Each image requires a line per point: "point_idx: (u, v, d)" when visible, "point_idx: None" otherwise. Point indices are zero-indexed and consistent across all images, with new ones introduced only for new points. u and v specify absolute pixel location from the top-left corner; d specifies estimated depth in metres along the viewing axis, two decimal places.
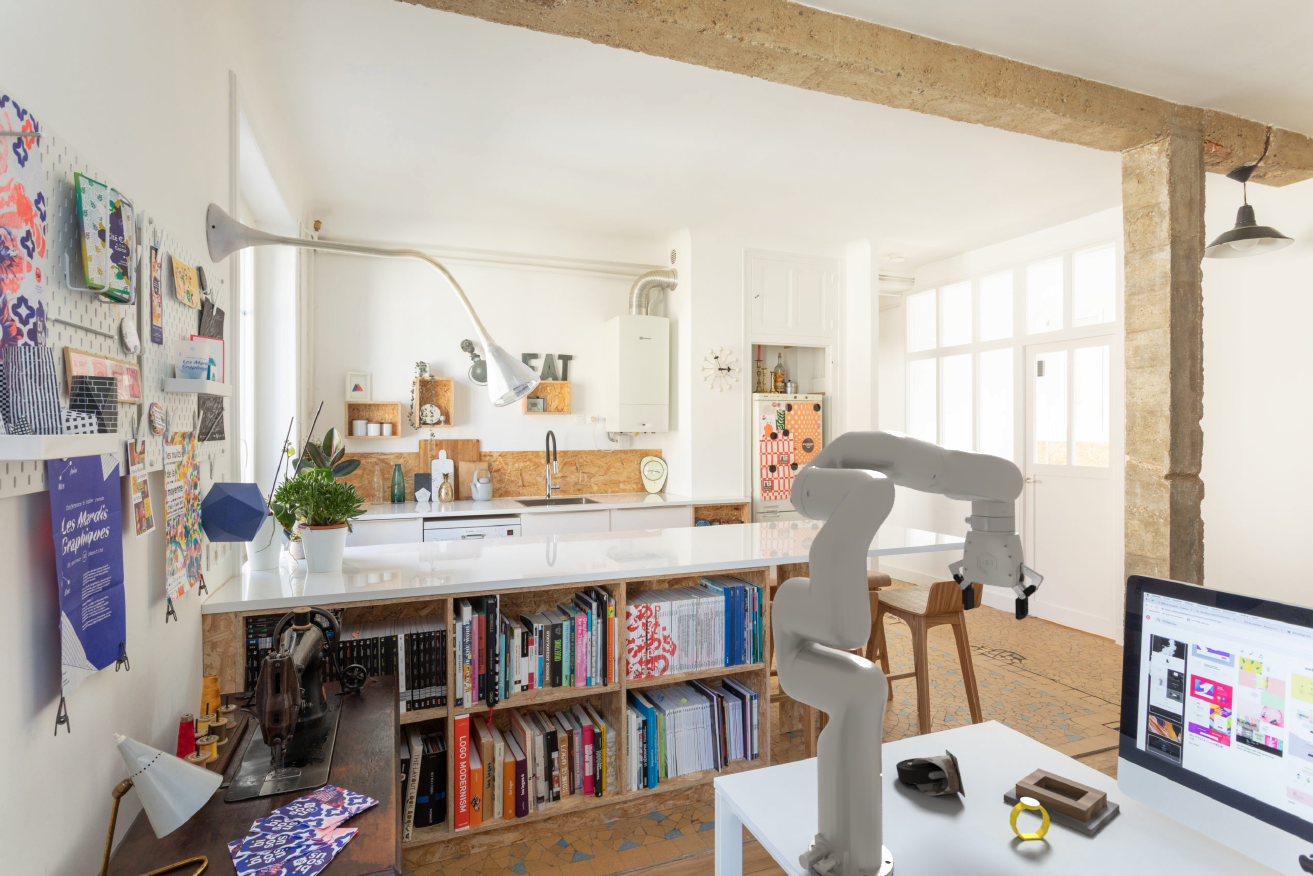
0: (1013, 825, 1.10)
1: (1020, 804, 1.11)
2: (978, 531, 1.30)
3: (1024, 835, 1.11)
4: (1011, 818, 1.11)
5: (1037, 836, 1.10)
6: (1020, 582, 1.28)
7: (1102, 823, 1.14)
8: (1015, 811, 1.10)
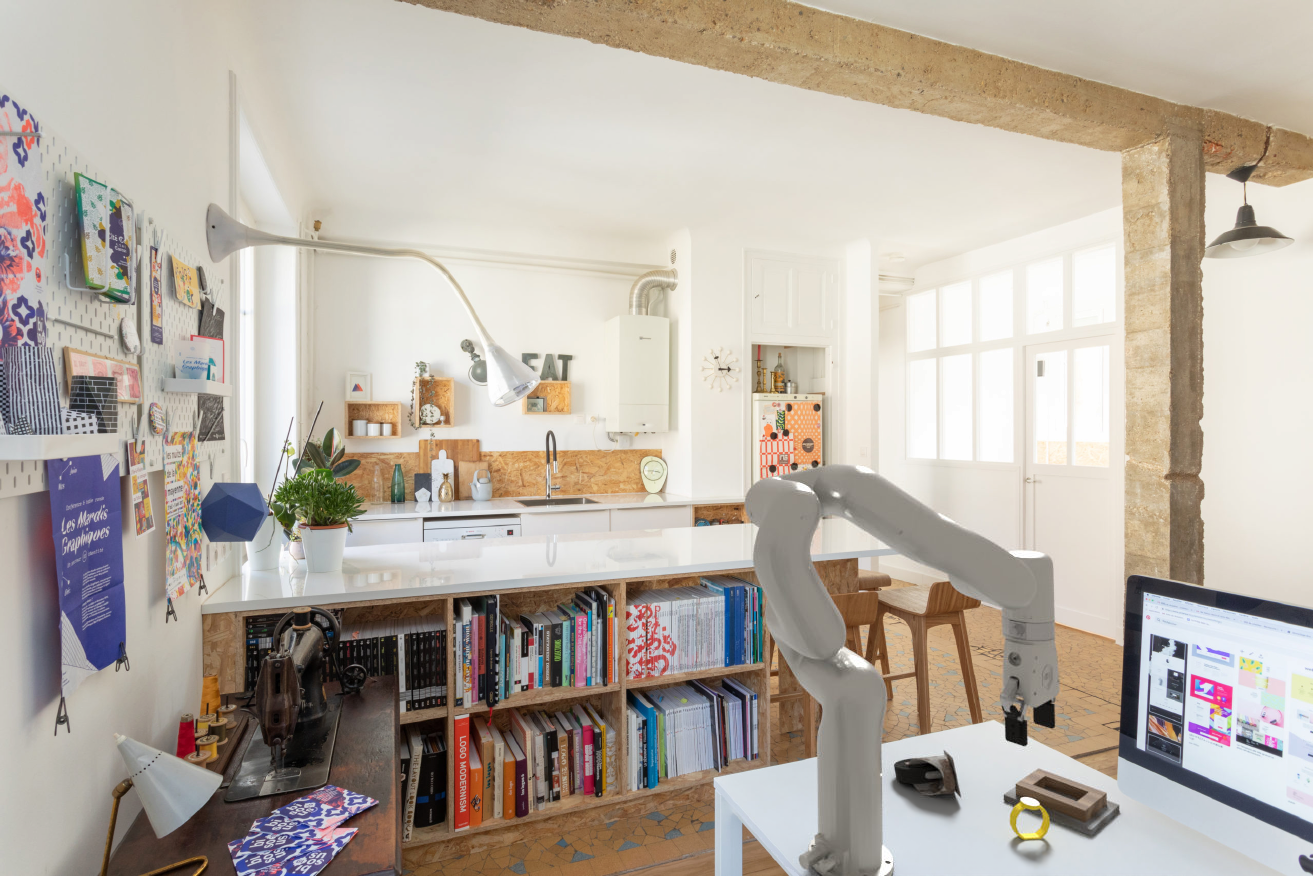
0: (1013, 825, 1.10)
1: (1020, 804, 1.11)
2: (1047, 641, 1.07)
3: (1024, 835, 1.11)
4: (1011, 818, 1.11)
5: (1037, 836, 1.10)
6: None
7: (1102, 823, 1.14)
8: (1015, 811, 1.10)
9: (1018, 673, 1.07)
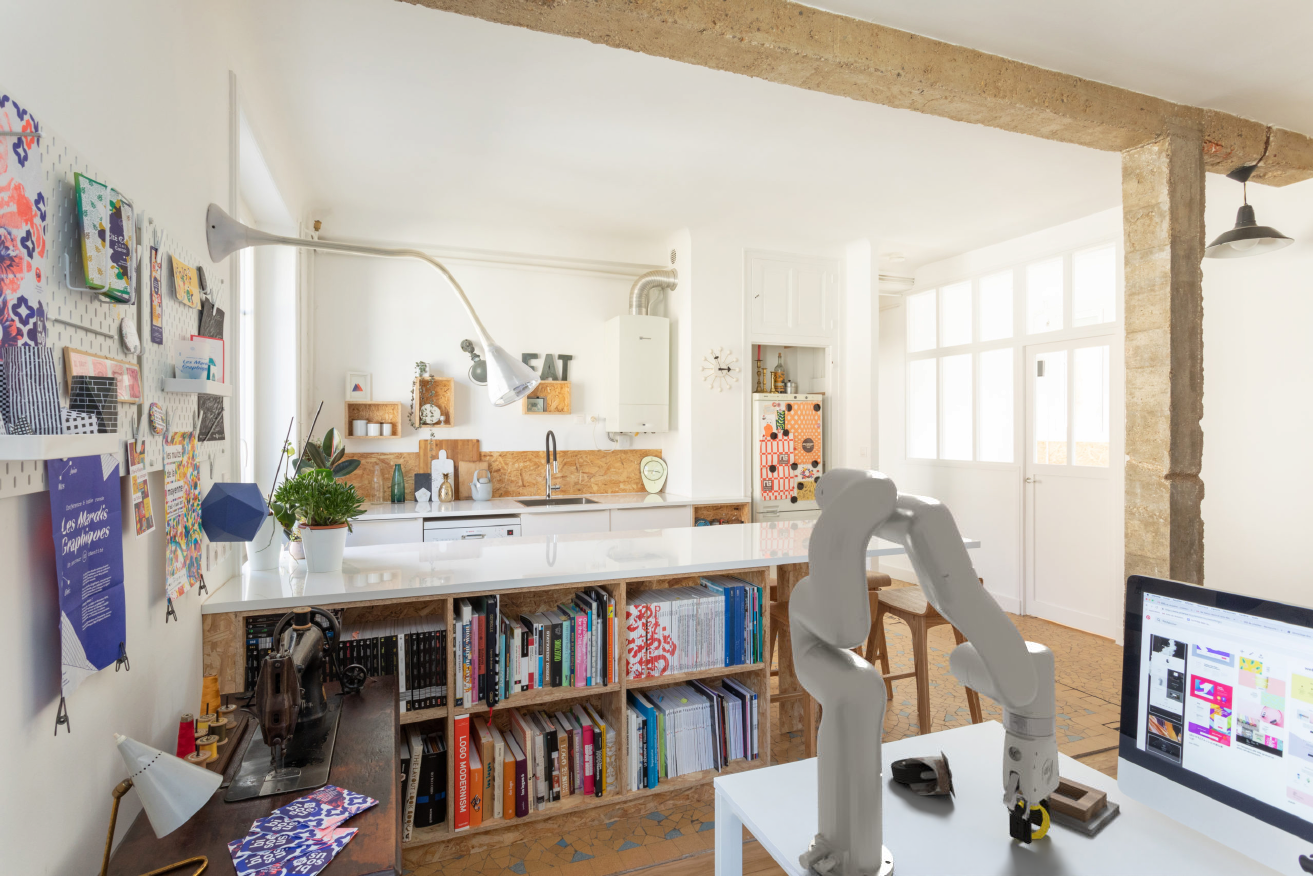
0: None
1: (1020, 804, 1.11)
2: (1048, 737, 1.07)
3: None
4: None
5: (1037, 836, 1.10)
6: None
7: (1102, 823, 1.14)
8: None
9: (1018, 768, 1.07)
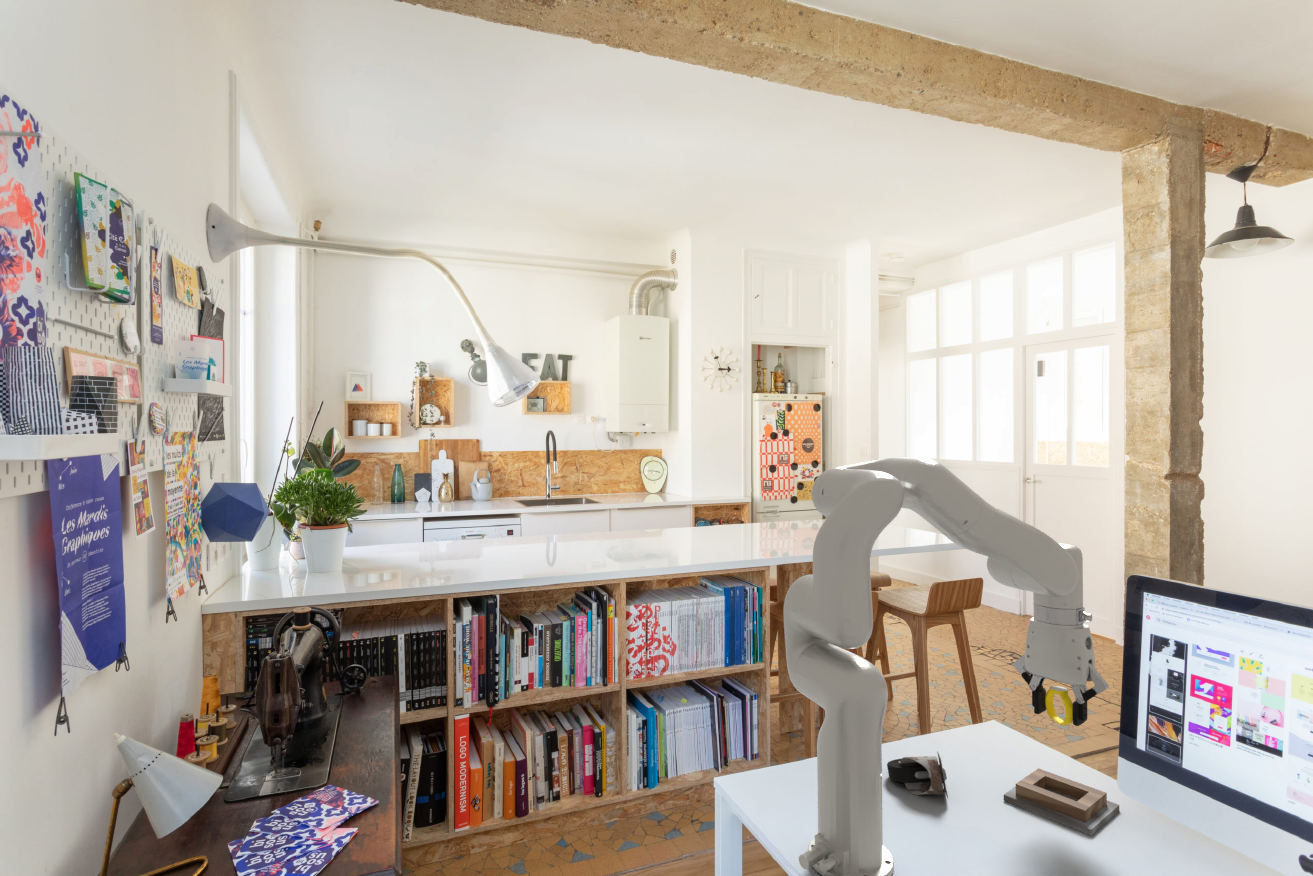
0: (1072, 716, 1.17)
1: (1062, 694, 1.19)
2: None
3: (1062, 722, 1.19)
4: (1069, 710, 1.17)
5: (1057, 717, 1.21)
6: None
7: (1102, 823, 1.14)
8: (1068, 702, 1.17)
9: (1091, 654, 1.16)
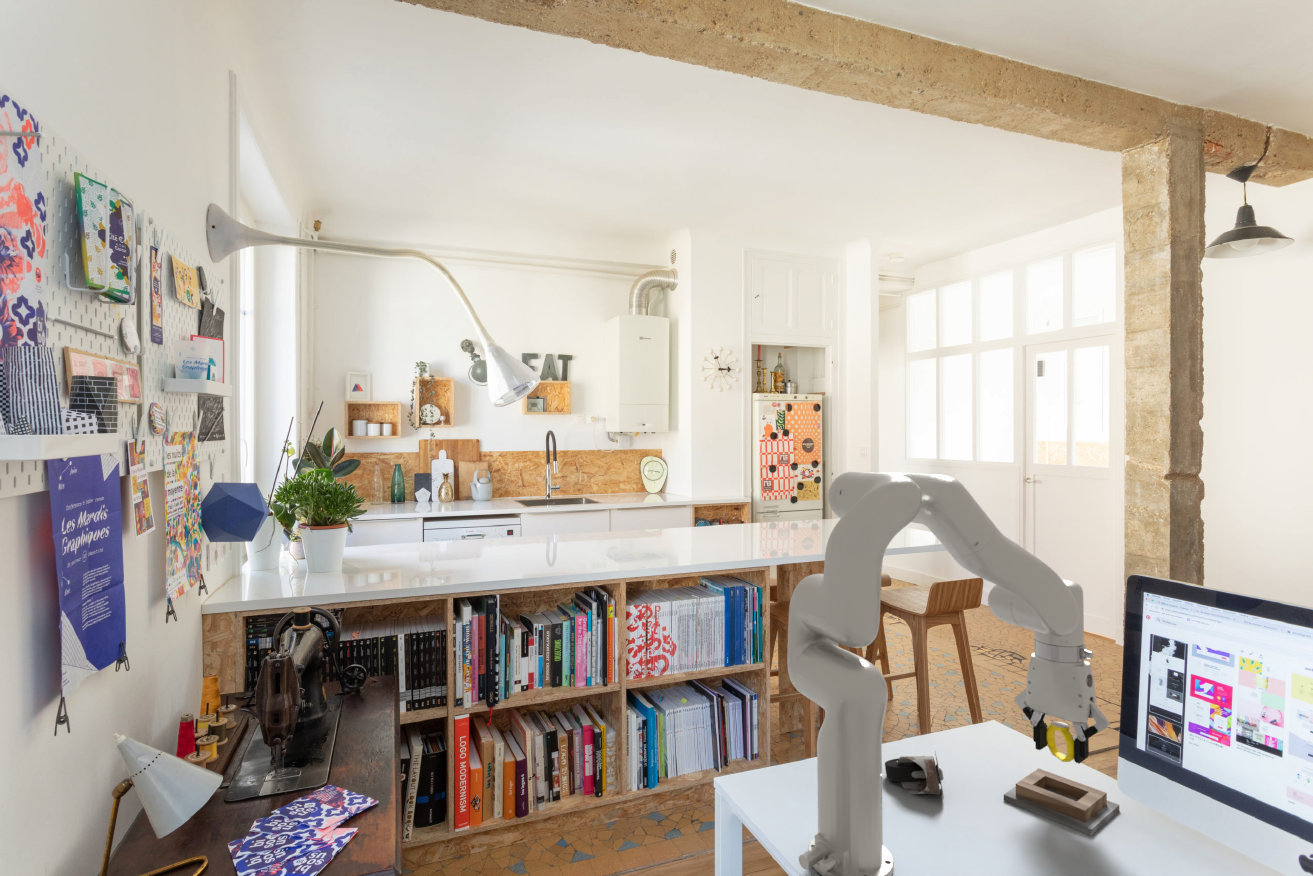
0: (1073, 753, 1.17)
1: (1063, 731, 1.19)
2: None
3: (1063, 758, 1.19)
4: (1070, 747, 1.17)
5: (1058, 753, 1.21)
6: None
7: (1102, 823, 1.14)
8: (1070, 739, 1.18)
9: (1092, 692, 1.16)
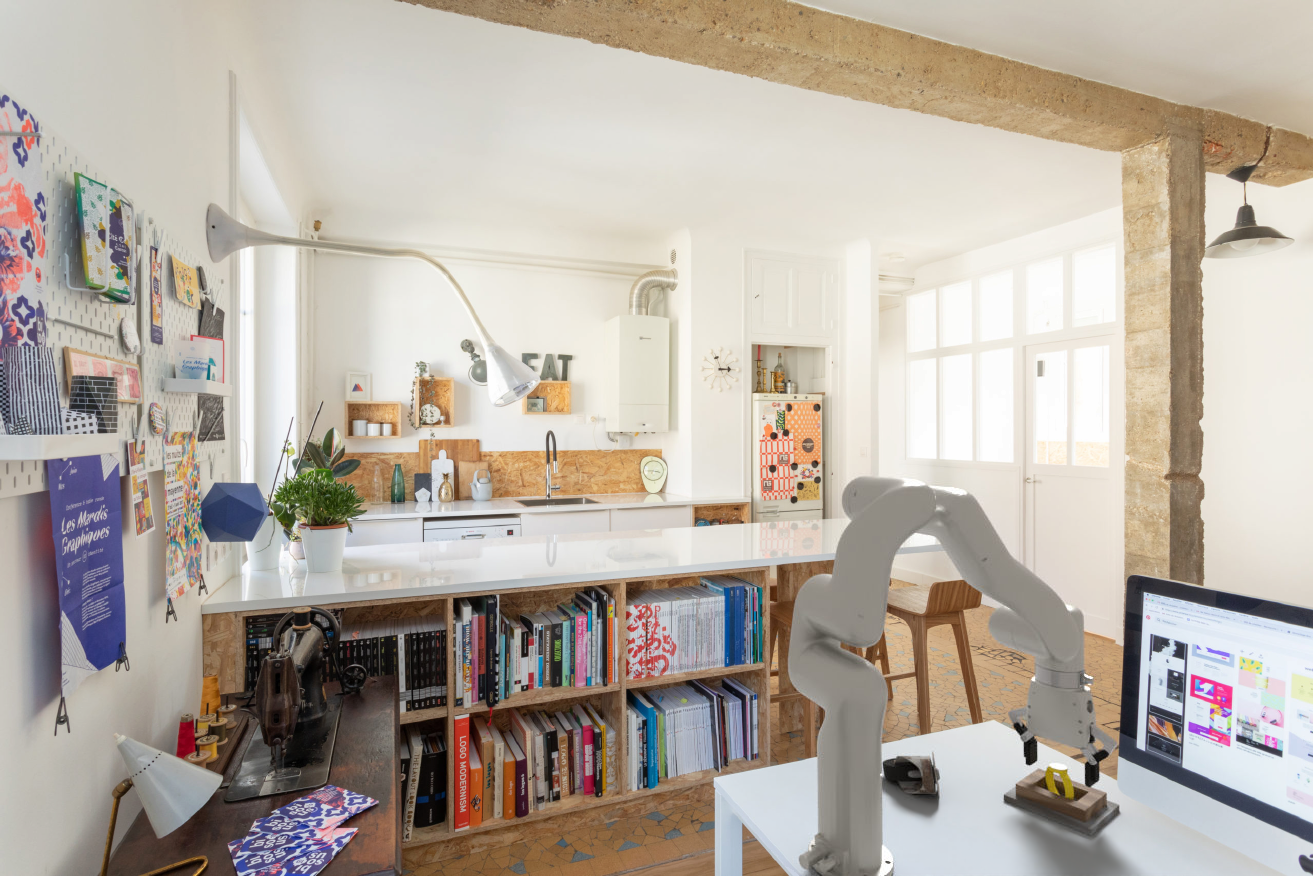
0: (1071, 796, 1.17)
1: (1061, 773, 1.19)
2: None
3: None
4: (1069, 790, 1.17)
5: None
6: None
7: (1102, 823, 1.14)
8: (1068, 781, 1.18)
9: (1092, 717, 1.16)
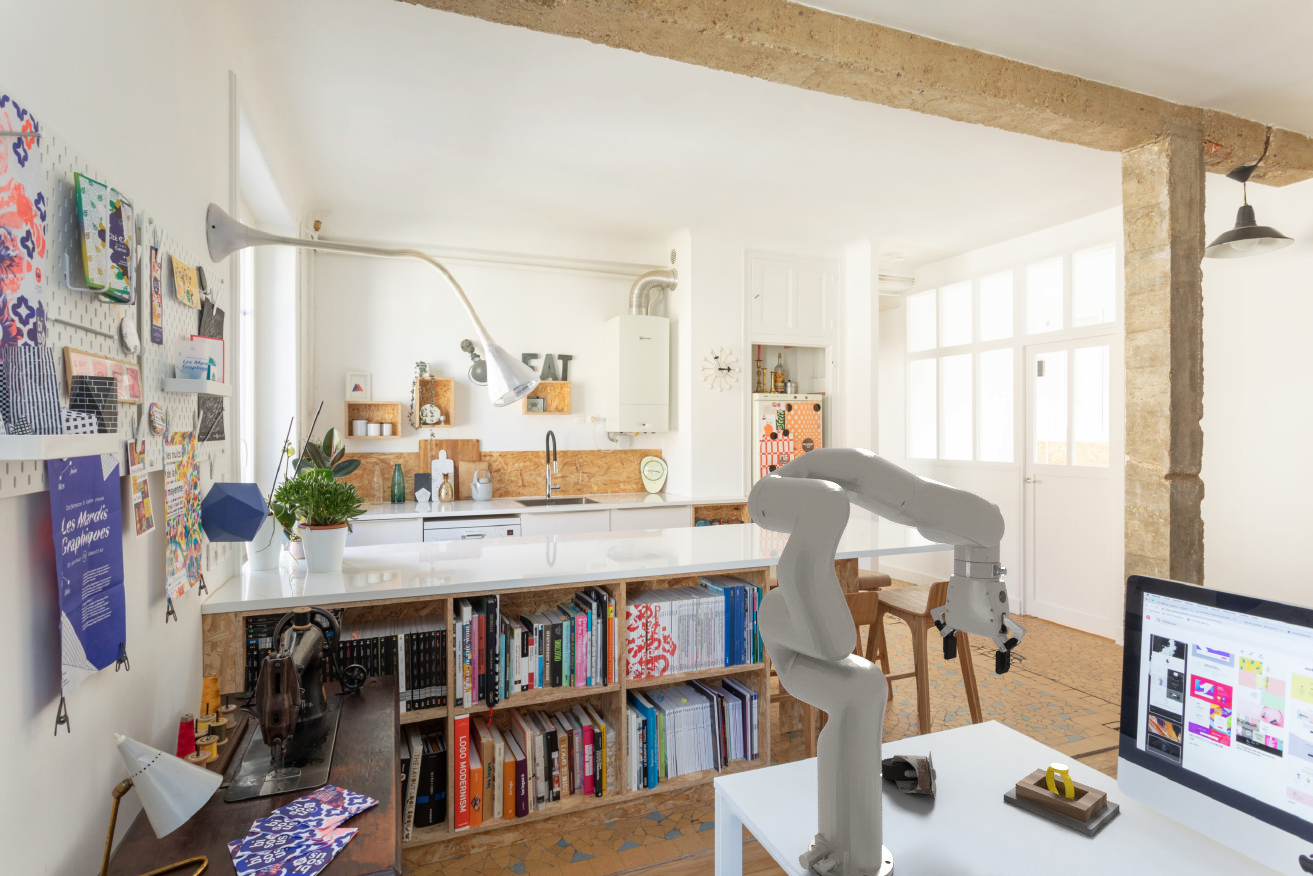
0: (1072, 796, 1.17)
1: (1062, 773, 1.19)
2: None
3: None
4: (1069, 790, 1.17)
5: None
6: None
7: (1102, 823, 1.14)
8: (1069, 781, 1.18)
9: (1005, 608, 1.20)
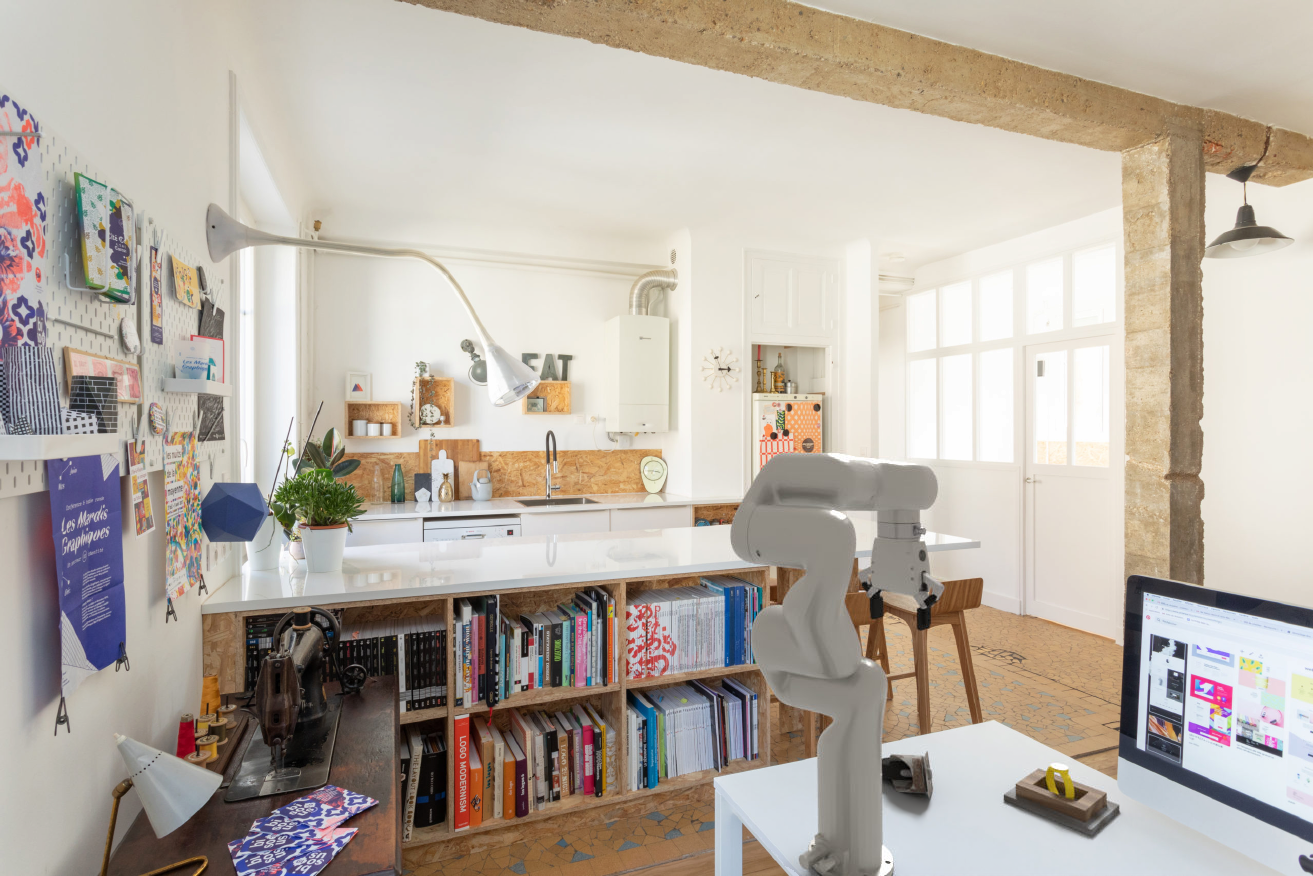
0: (1072, 796, 1.17)
1: (1062, 773, 1.19)
2: None
3: None
4: (1069, 790, 1.17)
5: None
6: None
7: (1102, 823, 1.14)
8: (1069, 781, 1.18)
9: (925, 566, 1.23)
